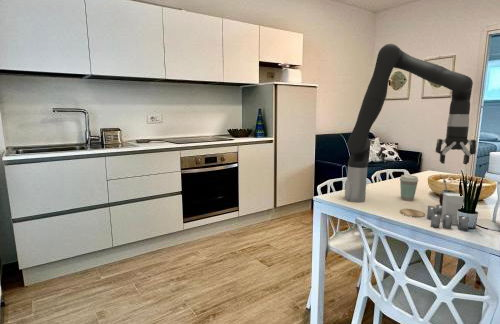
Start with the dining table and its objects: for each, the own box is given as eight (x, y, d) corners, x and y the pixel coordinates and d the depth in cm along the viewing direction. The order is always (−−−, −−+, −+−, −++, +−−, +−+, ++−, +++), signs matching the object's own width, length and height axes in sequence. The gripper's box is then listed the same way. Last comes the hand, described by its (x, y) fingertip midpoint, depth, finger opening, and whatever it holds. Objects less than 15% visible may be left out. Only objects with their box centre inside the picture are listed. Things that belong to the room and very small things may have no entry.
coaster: (407, 217, 133) (407, 216, 133) (395, 210, 143) (395, 208, 143) (430, 217, 133) (430, 215, 133) (416, 209, 143) (416, 208, 143)
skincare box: (456, 221, 128) (459, 193, 126) (460, 225, 124) (464, 196, 122) (440, 220, 129) (443, 192, 127) (443, 224, 125) (447, 195, 123)
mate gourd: (456, 211, 142) (460, 178, 139) (436, 208, 146) (440, 176, 143) (455, 206, 148) (459, 175, 146) (436, 204, 152) (439, 174, 150)
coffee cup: (418, 202, 155) (421, 178, 153) (400, 201, 157) (402, 177, 155) (413, 197, 164) (415, 175, 162) (396, 196, 165) (398, 174, 163)
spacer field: (438, 231, 118) (439, 218, 117) (413, 216, 135) (414, 205, 134) (490, 230, 119) (492, 218, 118) (459, 215, 136) (460, 204, 135)
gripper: (442, 125, 128) (438, 164, 131) (481, 126, 125) (477, 165, 128) (435, 124, 135) (432, 161, 138) (473, 125, 132) (468, 163, 135)
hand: (453, 163), depth 133 cm, fingers open, 8 cm apart
